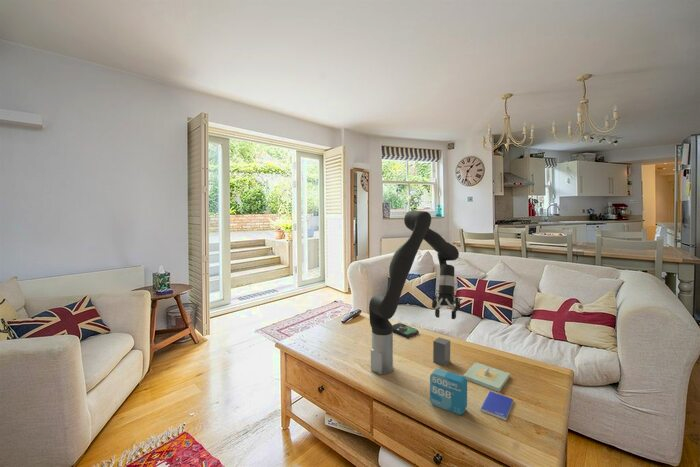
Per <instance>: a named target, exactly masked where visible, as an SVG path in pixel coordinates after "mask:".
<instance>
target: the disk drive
mask: <svg viewBox="0 0 700 467" xmlns="http://www.w3.org/2000/svg"><path fill="white" fill-rule="evenodd" d="M392 326H393V334H396V335H398V336H401V337H403V338H405V339H409V338H411V337H414V336H416V335H419V330H418V329H417V328H415V327H412V326H409V325H407V324H404V323H402V322H398V323H395V324H392Z"/></svg>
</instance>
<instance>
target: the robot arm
mask: <svg viewBox="0 0 700 467" xmlns="http://www.w3.org/2000/svg"><path fill="white" fill-rule="evenodd" d="M403 222H404V225H405V227H406V228H407V229H408V230H410V231H411V234H410V236H409V237H408V239H407V240H406V241H404V243H402V244H401V245H400V246H399V247H398V248H397V249H396V250H395V252H394V253H393V256H392V258H391V261H390V264H389V270H388V271H389V272H388V274H389V275H388V276H389V283H388V288H387V291H386V293H385V295H383V294H381V293H378V294H377V293H376V294H374V295H373V296H372V297H371V299H370V300H369V304H368V305H369V306H368V311H369V312H368V314H369V325H370V328H371V349H370V370H371V372H375V373H376V374H379V375H381V376H382V375H386V374H390V373H392V371H393V370H394V348H393V347H394V342H393V340H394V337H393V336H394V333H393V324H392V323H391V321H390V320H391V319H392V318H393V316H394V315H395V313H396V312H397V309H398V306H399V303H400V299H401V296H402V292H403V289H404V286H405V284H406V281H407V278H408V276H409V274H410V271H411V270H412V267H413V264H414V261H415V258H416V256H417V254H418V251H419V249H420V247H421V246H422V245H421V244H422V243H423V242H424V241H425V242H426V243H427V244H428V245H429V246H430V247H431V248H432V249H433V250H434V251H435V252H436V253H437V259H438V264H439V280H438V296H435V295H434V296H432V301H431V302H432V303H431V304H432V305H431V309H434V310H435V311H434V316H435V317H436V318H438V319H439V318H440V309H441V308H442V307H449V308H450V310H451V317H450V318H451V320H456V319H457V312H458V311H461V298H460V297H458V296H456V297H455V285H456V284H455V282H456V281H455V266H454V265H452V264H447V261H448V262H449V261H450V262H451V261H456V260H458V258H459V256H460V252H459V250H458V249H457V247H456V246H455V245H453V244H451V243H449V241H448V242H447V241H446V240H445V239H444V238H443V236H442V235H440V234H439V233H438V232H436V231H435V230H433V229H432V228H430V227H431V223H432V216H431V213H430V212H429V211H424V210H410V211H408V212H406V214H405V215H404V220H403ZM454 302H455V303H454Z"/></svg>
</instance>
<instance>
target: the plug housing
mask: <svg viewBox="0 0 700 467" xmlns="http://www.w3.org/2000/svg"><path fill="white" fill-rule="evenodd" d="M432 352H433V354H432V356H433V357H432V358H433V359H432V360H433V363H435V364H438V365H440V366H444V367H445V366H447V365H448V364H450V362H451V340H449V339H446V338H444V337H440V336H439V337H437V338H435V339H434V340H433V350H432Z"/></svg>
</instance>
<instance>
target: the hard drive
mask: <svg viewBox="0 0 700 467" xmlns="http://www.w3.org/2000/svg"><path fill="white" fill-rule="evenodd" d="M513 403H514V399H513V398H511V397H508V396H506V395H502V394H500V393H497V392H494V391H489V392H488V393H487V396H486V398H485V399H484V401H483V403H482V404H481V405H482V406H481V407H480V412H482V413H483V412H484V413H486V414H488V415H491V416H494V417H496V418H499V419H501V420H504V421H507V419H508V416H509V414H510V411H511V409H512V406H513Z"/></svg>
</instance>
